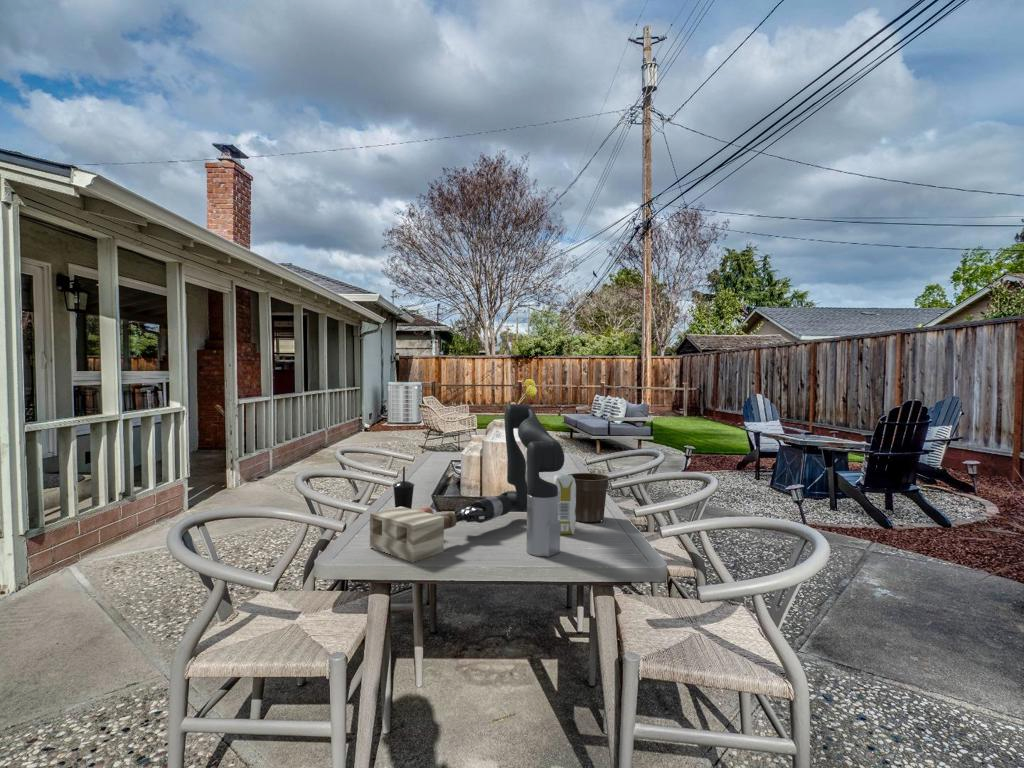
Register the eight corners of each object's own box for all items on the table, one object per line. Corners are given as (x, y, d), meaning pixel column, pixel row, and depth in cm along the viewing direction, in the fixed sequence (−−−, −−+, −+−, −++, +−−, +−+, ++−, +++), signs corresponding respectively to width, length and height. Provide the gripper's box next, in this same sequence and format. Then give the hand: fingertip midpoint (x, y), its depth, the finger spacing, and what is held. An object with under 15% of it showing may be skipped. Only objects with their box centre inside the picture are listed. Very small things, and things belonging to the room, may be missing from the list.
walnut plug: (456, 528, 161) (456, 513, 161) (416, 540, 148) (417, 524, 148) (446, 525, 164) (446, 511, 164) (406, 537, 151) (406, 521, 151)
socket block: (443, 551, 153) (444, 516, 153) (412, 562, 144) (413, 525, 144) (400, 538, 165) (401, 506, 165) (369, 548, 156) (370, 513, 156)
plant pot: (563, 513, 201) (564, 472, 201) (604, 513, 201) (605, 472, 201) (567, 524, 185) (568, 479, 185) (612, 525, 185) (613, 480, 184)
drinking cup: (418, 521, 185) (419, 466, 185) (403, 526, 179) (404, 469, 179) (402, 518, 189) (403, 464, 189) (387, 523, 183) (388, 467, 183)
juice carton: (553, 535, 171) (554, 478, 171) (551, 528, 180) (552, 473, 180) (576, 535, 171) (577, 478, 171) (572, 528, 180) (573, 474, 180)
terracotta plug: (433, 521, 169) (433, 507, 168) (393, 533, 155) (393, 517, 155) (423, 519, 171) (423, 505, 171) (383, 530, 158) (383, 515, 158)
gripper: (472, 495, 181) (436, 504, 167) (501, 501, 172) (466, 511, 159) (472, 516, 181) (436, 527, 167) (501, 523, 173) (466, 535, 159)
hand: (451, 519), depth 163 cm, fingers closed
